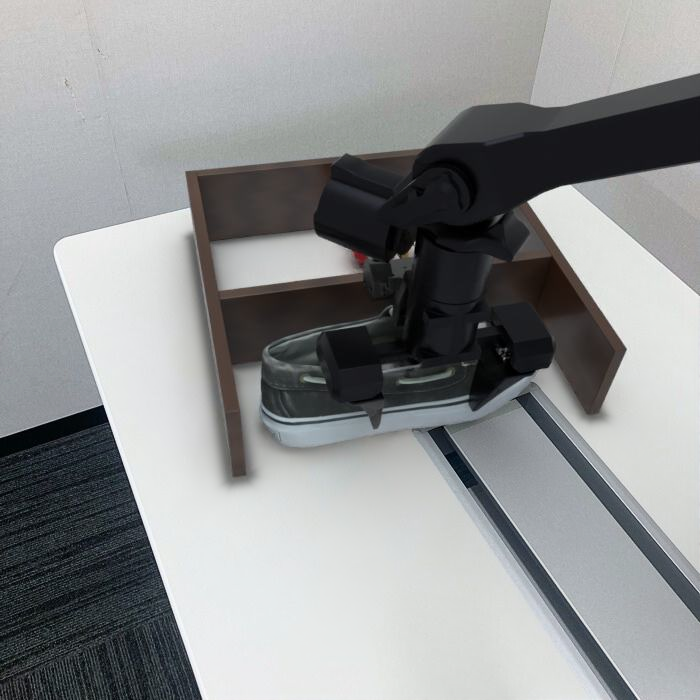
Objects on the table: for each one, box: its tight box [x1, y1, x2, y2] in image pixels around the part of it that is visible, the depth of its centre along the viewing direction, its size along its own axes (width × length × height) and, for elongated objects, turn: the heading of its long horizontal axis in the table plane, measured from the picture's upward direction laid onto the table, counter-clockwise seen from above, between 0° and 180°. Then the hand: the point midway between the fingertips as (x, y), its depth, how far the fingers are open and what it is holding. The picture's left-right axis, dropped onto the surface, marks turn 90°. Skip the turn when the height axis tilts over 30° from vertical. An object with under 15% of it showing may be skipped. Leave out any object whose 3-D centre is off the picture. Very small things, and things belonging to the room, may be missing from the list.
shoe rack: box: [184, 147, 628, 478], centre depth 78 cm, size 35×35×9 cm
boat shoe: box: [258, 305, 540, 448], centre depth 69 cm, size 10×29×10 cm, turn 113°
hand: (423, 416), depth 67 cm, fingers open, 9 cm apart
